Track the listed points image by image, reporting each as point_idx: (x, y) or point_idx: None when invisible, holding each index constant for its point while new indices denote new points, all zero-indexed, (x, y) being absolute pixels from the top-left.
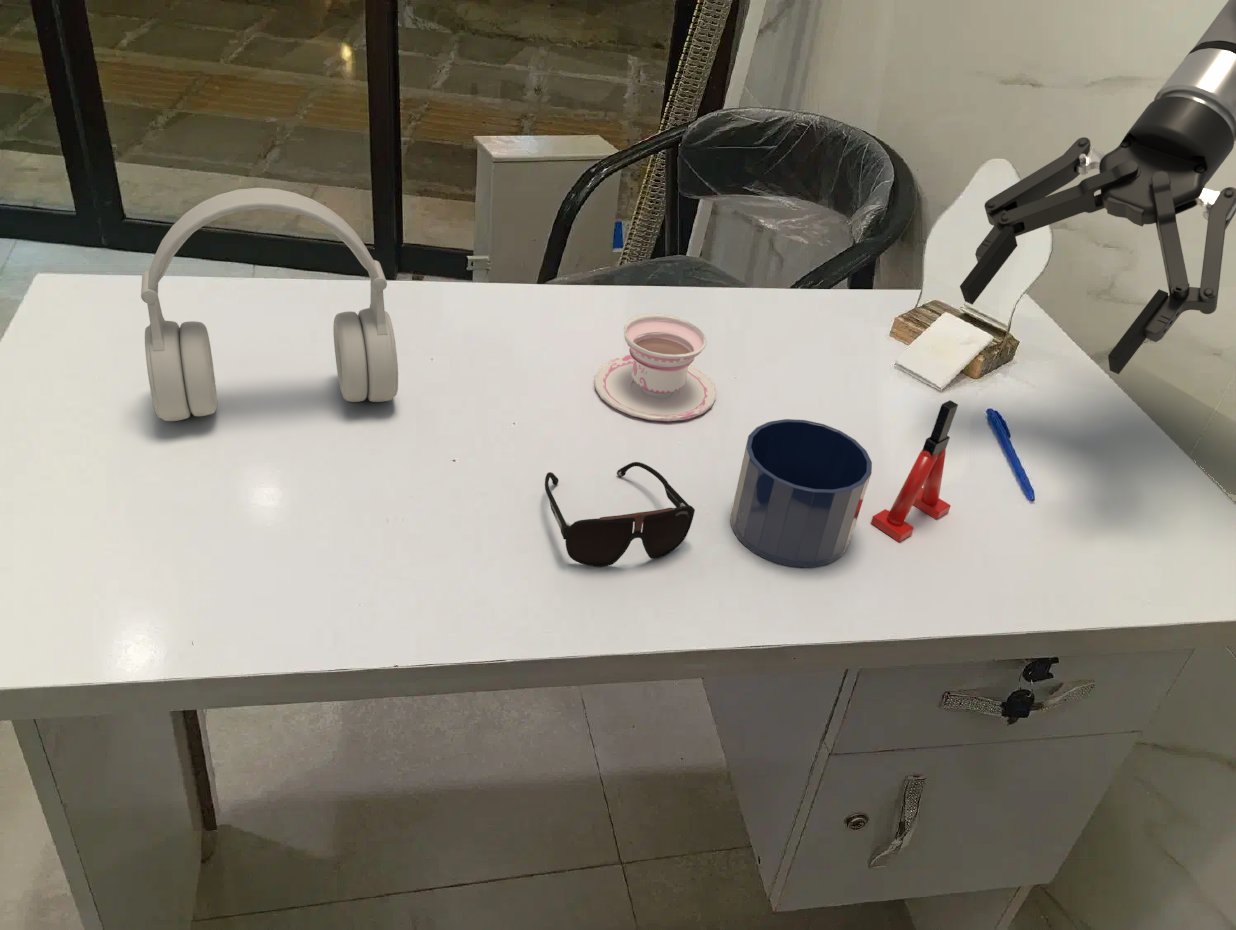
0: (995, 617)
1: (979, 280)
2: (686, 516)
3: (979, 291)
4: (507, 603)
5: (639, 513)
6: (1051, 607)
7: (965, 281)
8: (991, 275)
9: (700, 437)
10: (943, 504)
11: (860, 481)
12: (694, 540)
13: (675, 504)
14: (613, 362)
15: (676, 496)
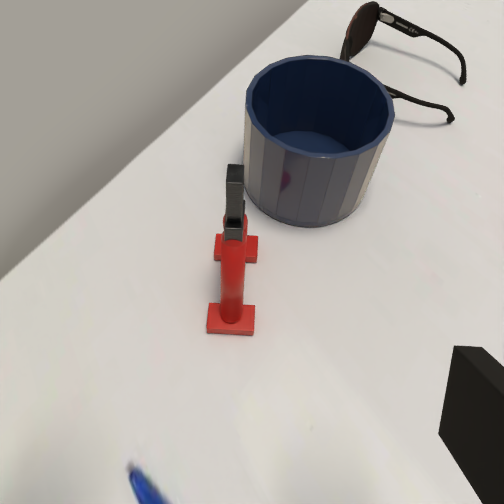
0: (85, 220)
1: (476, 406)
2: None
3: (459, 445)
4: (355, 8)
5: (355, 17)
6: (38, 276)
7: (486, 356)
8: (496, 498)
9: (480, 218)
10: (213, 320)
11: (249, 104)
12: None
13: None
14: None
15: None
